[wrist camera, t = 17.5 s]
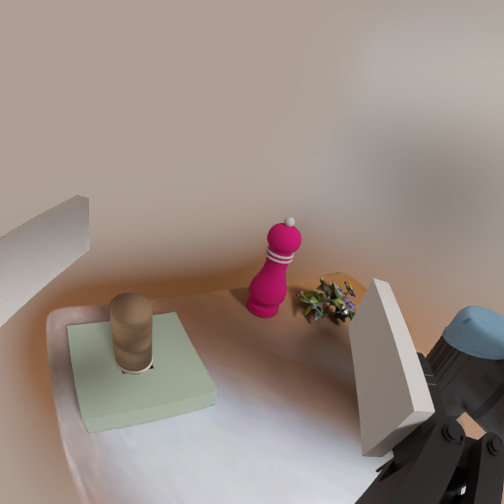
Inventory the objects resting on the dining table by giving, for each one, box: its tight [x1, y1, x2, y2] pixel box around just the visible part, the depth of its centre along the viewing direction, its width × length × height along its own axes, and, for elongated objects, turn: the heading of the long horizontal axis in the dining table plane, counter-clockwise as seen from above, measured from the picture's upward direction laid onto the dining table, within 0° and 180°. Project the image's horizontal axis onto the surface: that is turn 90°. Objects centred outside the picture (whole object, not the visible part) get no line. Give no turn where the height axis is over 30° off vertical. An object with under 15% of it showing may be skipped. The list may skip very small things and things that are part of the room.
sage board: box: [67, 312, 218, 433], centre depth 37 cm, size 18×16×4 cm
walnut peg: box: [109, 293, 153, 375], centre depth 34 cm, size 5×5×13 cm
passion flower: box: [296, 277, 356, 323], centre depth 59 cm, size 11×11×12 cm
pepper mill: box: [247, 217, 301, 318], centre depth 54 cm, size 7×7×20 cm
